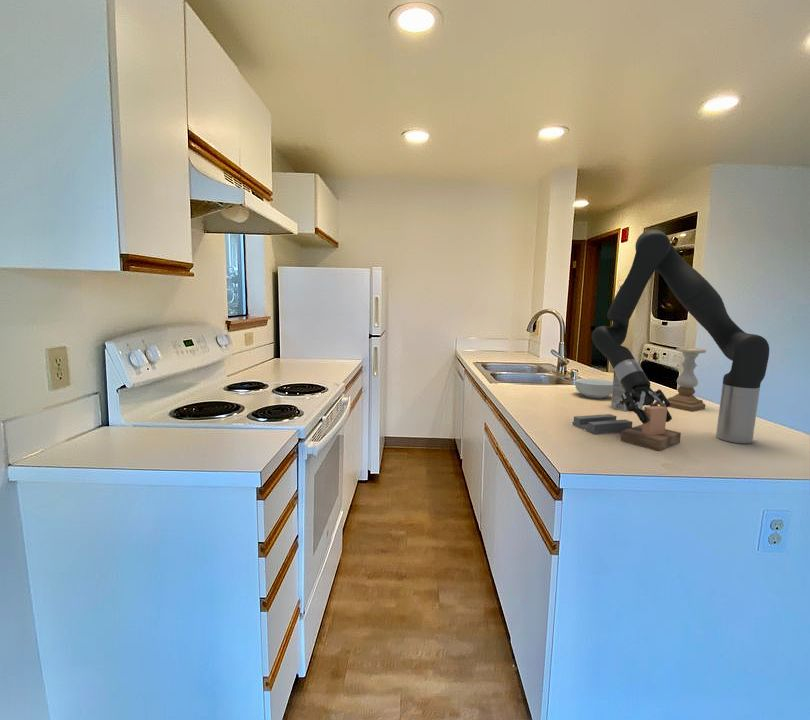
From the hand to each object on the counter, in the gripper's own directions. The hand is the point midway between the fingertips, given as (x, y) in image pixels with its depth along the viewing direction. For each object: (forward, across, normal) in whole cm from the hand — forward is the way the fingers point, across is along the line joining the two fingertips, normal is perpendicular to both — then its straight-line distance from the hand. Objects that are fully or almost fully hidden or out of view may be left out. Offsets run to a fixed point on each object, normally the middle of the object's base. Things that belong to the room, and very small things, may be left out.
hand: (657, 421), depth 131 cm
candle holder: (-20, +52, +30) cm, 63 cm away
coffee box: (-22, +25, +33) cm, 47 cm away
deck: (+3, +1, +7) cm, 7 cm away
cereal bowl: (-37, +28, +47) cm, 66 cm away
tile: (+2, 0, +4) cm, 4 cm away
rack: (-8, -4, +18) cm, 20 cm away
